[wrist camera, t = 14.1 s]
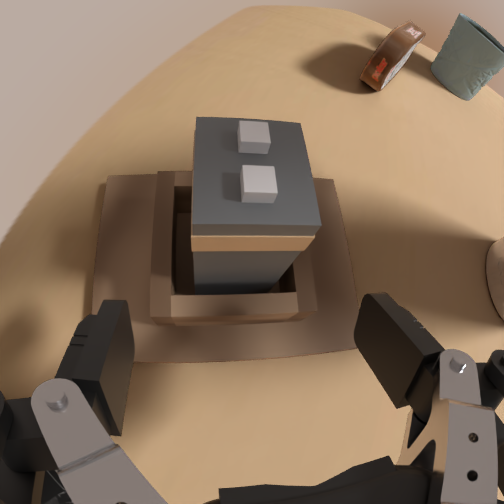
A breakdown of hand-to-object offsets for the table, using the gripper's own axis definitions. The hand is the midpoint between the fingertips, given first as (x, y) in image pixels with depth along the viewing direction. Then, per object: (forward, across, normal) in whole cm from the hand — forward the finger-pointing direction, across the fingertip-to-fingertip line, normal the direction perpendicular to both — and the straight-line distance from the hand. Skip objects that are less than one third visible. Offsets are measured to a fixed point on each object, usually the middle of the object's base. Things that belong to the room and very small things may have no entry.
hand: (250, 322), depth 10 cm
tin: (+26, -20, -15) cm, 36 cm away
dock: (+9, 0, +2) cm, 10 cm away
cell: (+8, 0, +2) cm, 9 cm away
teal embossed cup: (+31, -37, -19) cm, 52 cm away
